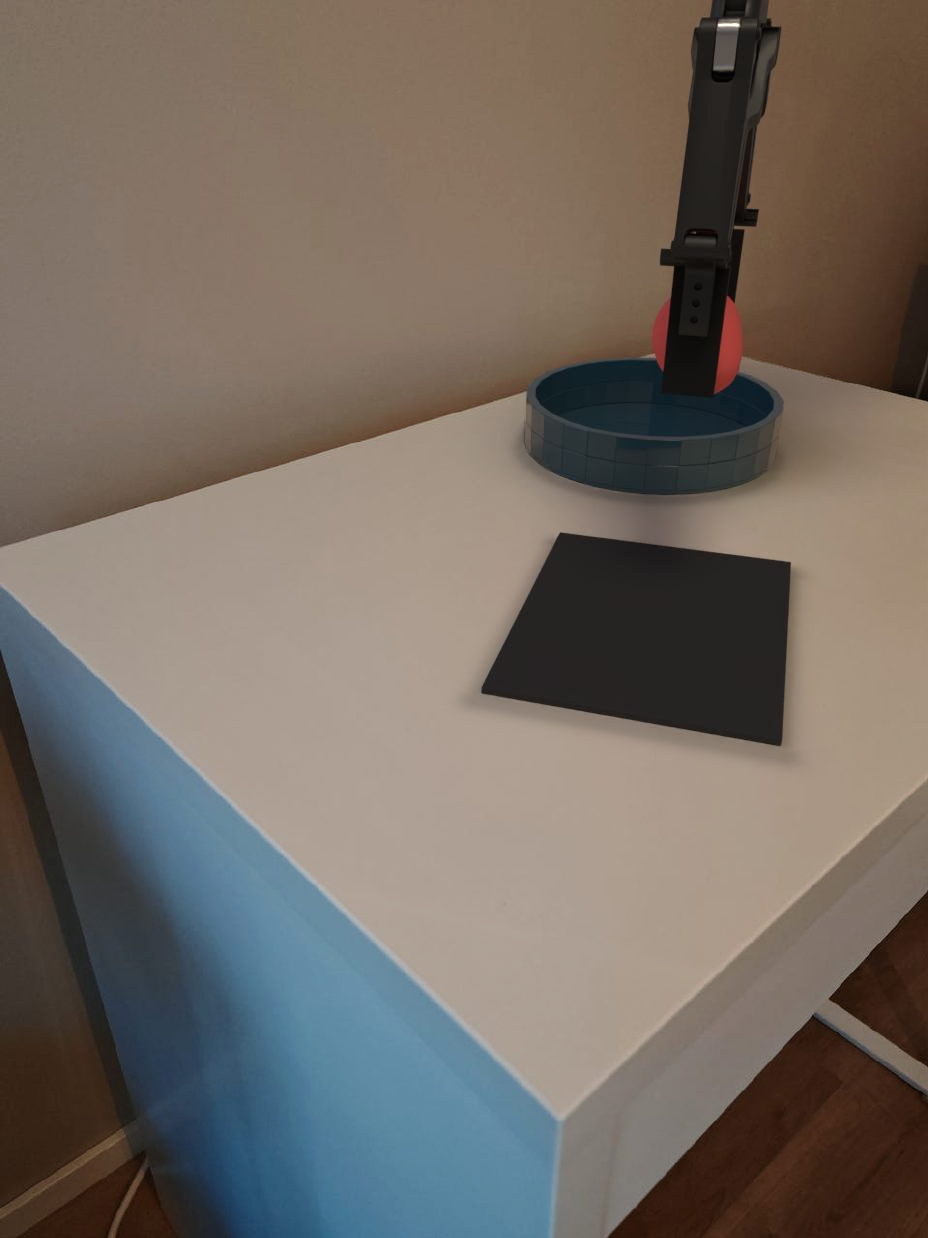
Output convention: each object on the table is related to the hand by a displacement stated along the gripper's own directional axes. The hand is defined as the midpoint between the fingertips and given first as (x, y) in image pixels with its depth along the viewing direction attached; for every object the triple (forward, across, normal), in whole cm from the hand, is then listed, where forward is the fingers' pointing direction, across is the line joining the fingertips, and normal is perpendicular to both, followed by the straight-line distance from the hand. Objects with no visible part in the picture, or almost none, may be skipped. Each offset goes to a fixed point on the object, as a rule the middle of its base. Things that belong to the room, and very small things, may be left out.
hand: (697, 365), depth 55 cm
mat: (+15, +5, -1) cm, 16 cm away
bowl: (+15, -25, -5) cm, 30 cm away
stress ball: (+1, 0, 0) cm, 1 cm away
